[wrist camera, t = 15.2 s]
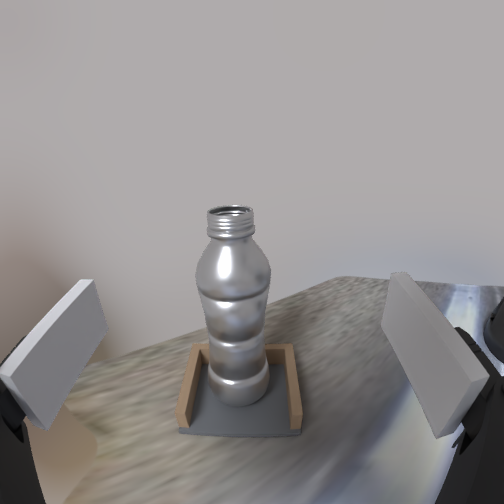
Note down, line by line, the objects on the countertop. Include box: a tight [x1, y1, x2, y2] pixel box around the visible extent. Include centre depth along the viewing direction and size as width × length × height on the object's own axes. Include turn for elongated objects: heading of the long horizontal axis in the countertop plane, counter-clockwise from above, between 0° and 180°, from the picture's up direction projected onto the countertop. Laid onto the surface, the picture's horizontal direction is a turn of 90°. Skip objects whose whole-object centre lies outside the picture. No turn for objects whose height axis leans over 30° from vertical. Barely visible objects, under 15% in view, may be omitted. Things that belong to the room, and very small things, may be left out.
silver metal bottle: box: [195, 205, 271, 407], centre depth 27 cm, size 6×7×20 cm
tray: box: [175, 343, 303, 437], centre depth 30 cm, size 12×12×3 cm
